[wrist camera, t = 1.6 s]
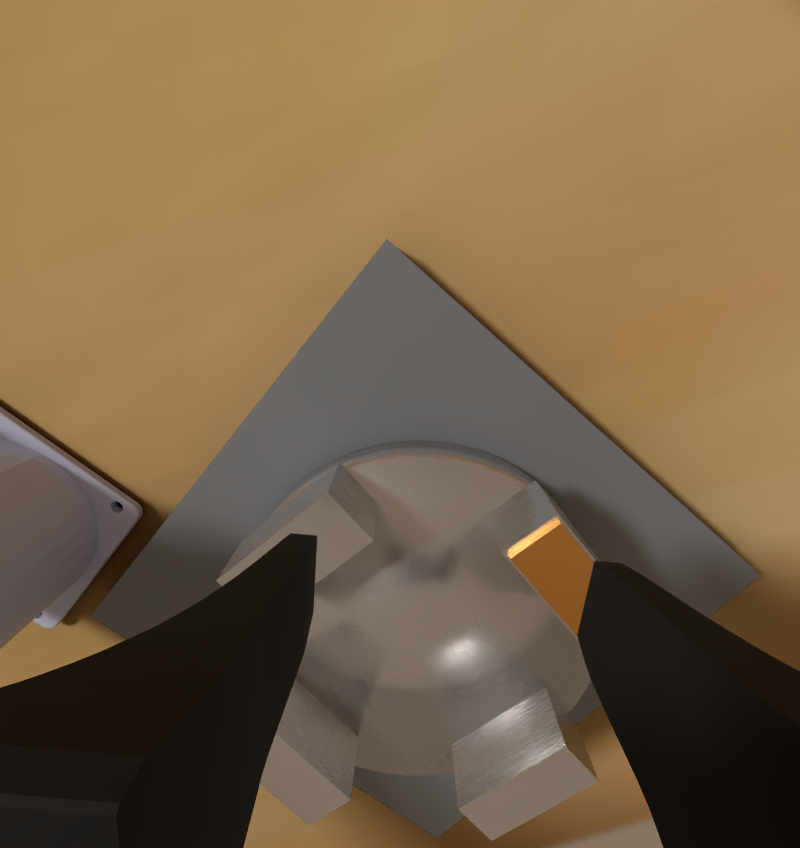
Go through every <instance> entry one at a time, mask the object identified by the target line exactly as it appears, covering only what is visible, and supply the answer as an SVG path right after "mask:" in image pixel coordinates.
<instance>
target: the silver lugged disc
mask: <svg viewBox="0 0 800 848" xmlns="http://www.w3.org/2000/svg"><path fill="white" fill-rule="evenodd" d="M290 533H295V534H306V535H317V552H316V572H315V592H314V612H313V617H312V621H311V626H310V630H309V635H308V639H307V643H306V647H305V652H304V655H303V658H302V661H301V664H300V667H299V670H298V672H297V675H296V678H295V681H294V684H293V687H292V689H291V692H290V695H289V698H288V701H287V703H286V706H285V709H284V712H283V715H282V717H281V720H280V723H279V726H278V729H277V731H276V734H275V737H274V740H273V743H272V746H271V748H270V751H269V754H268V757H267V761H266V764H265V767H264V770H263V773H262V777H261V781H260V784H261V785H262V786H263V787H264V788H265V789H267V790H268V791H269V792H270V793H271V794H273V795H274V796H275V797H276V798H277V799H278V800H280V801H281V802H282V803H283V804H284V805H286V806H287V807H288V808H289V809H290V810H291V811H293V812H294V813H295V814H296V815H297V816H299V817H300V818H301V819H302V820H303V821H304V822H306V823H307V824H308V825H309V826H310V825H311V824H313V823H315V822H316V821H318V820H320V819H321V818H323V817H324V816H326V815H328V814H329V813H331V812H332V811H334V810H336V809H337V808H339V807H341V806H342V805H344V804H345V803H347V802H349V801H350V800H351V795H352V785H353V776H354V767H355V766H358V767H361V768H364V769H368V770H373V771H378V772H383V773H390V774H400V775H439V774H450V773H455V783H456V793H457V804H458V810H459V811H461V812H462V813H463V814H464V815H465V816H466V817H467V818H468V819H469V820H470V821H471V822H472V823H473V824H474V825H475V826H476V827H477V828H479V829H480V830H481V831H482V832H483V833H484V834H485V835H486V836H487V837H488V838H489V839H490V840H491V841H493V840H495V839H496V838H498V837H500V836H502V835H504V834H505V833H507V832H509V831H511V830H512V829H514V828H516V827H518V826H520V825H521V824H523V823H525V822H527V821H529V820H530V819H532V818H534V817H536V816H538V815H539V814H541V813H543V812H545V811H547V810H548V809H550V808H552V807H554V806H556V805H557V804H559V803H561V802H563V801H565V800H566V799H568V798H570V797H572V796H574V795H575V794H577V793H579V792H581V791H583V790H584V789H586V788H588V787H590V786H592V785H593V784H595V783H597V782H599V780H598V778H597V775H596V773H595V770H594V767H593V765H592V762H591V760H590V757H589V754H588V752H587V749H586V747H585V744H584V742H583V739H582V736H581V734H580V731H579V729H578V726H577V723H576V721H575V719H574V717H573V716H572V715H571V714H570V713H569V712H570V711H571V709H572V708H573V707H574V706H575V705H576V703H577V702H578V701H579V700H580V698H581V697H582V695H583V693H584V692H585V690H586V689H587V687H588V685H589V684H590V682H591V679H590V676H589V673H588V670H587V667H586V664H585V661H584V657H583V654H582V651H581V647H580V644H579V640H578V637H577V634H578V629H579V625H580V621H581V616H582V612H583V608H584V604H585V599H586V595H587V591H588V586H589V582H590V578H591V573H592V569H593V565H594V561H601V560H600V559H599V558H598V556H597V555H596V554H595V553H594V552H593V550H592V549H591V548H590V547H589V545H588V544H587V543H586V542H585V540H584V539H583V538H582V537H581V535H580V534H579V533H578V532H577V530H576V529H575V527H574V526H573V525H572V523H571V522H570V520H569V519H568V517H567V516H566V514H565V513H564V512H563V511H562V509H561V508H560V507H559V505H558V504H557V503H556V501H555V500H554V499H553V498H552V496H551V495H549V494H548V493H547V492H546V491H545V490H544V489H543V488H542V487H541V486H540V485H539V484H538V482H537V481H536V480H533V479H532V478H531V477H529V476H528V475H526V474H525V473H524V472H522V471H521V470H520V469H518V468H517V467H515V466H513V465H511V464H509V463H507V462H505V461H504V460H502V459H500V458H498V457H496V456H493V455H490V454H488V453H485V452H483V451H480V450H477V449H475V448H470V447H466V446H462V445H458V444H454V443H448V442H439V441H430V440H406V441H396V442H389V443H382V444H377V445H373V446H369V447H366V448H362V449H358V450H355V451H353V452H350V453H348V454H345V455H343V456H340V457H338V458H336V459H334V460H332V461H330V462H328V463H327V464H325V465H323V466H321V467H320V468H318V469H316V470H314V471H313V472H312V473H310V474H309V475H308V476H307V477H305V478H304V479H303V480H301V481H300V482H299V483H297V484H296V485H295V486H294V487H293V488H292V489H291V490H290V491H289V492H288V493H287V494H286V495H285V497H284V498H283V499H282V500H281V501H280V502H279V504H278V505H277V506H276V508H275V509H274V510H273V512H272V513H271V515H270V516H269V517H268V519H267V521H265V522H264V523H263V524H262V525H260V526H259V527H258V528H257V529H255V530H254V531H253V532H252V533H250V534H249V535H248V536H247V537H245V538H244V539H243V540H242V542H241V543H240V545H239V546H238V548H237V549H236V551H235V552H234V554H233V555H232V557H231V559H230V560H229V562H228V563H227V565H226V566H225V568H224V569H223V571H222V572H221V574H220V575H219V577H218V578H217V580H216V581H217V582H218V583H219V584H220V585H221V586H223V585H224V584H226V583H227V582H229V581H230V580H232V579H233V578H235V577H236V576H237V575H239V574H240V573H241V572H243V571H244V570H245V569H246V568H248V567H249V566H250V565H252V564H253V563H254V562H256V561H257V560H258V559H259V558H261V557H262V556H263V555H264V554H265V553H267V552H268V551H269V550H270V549H272V548H273V547H274V546H275V545H276V544H278V543H279V542H280V541H281V540H283V539H284V538H285V537H287V536H288V535H289V534H290Z"/></svg>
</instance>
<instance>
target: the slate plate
mask: <svg viewBox="0 0 800 848" xmlns="http://www.w3.org/2000/svg"><path fill="white" fill-rule="evenodd" d="M406 440H430V441H439V442H448V443H454V444H458V445H462V446H466V447H470V448H475V449H477V450H480V451H483V452H485V453H488V454H490V455H493V456H496V457H498V458H500V459H502V460H504V461H505V462H507V463H509V464H511V465H513V466H515V467H517V468H518V469H520V470H521V471H522V472H524V473H525V474H526V475H528V476H529V477H531V478H532V479H533V480H536V481H537V482H538V484H539V485H540V486H541V487H542V488H543V489H544V490H545V491H546V492H547V493H548V494H549V495H551V496H552V498H553V499H554V500H555V501H556V503H557V504H558V505H559V507H560V508H561V509H562V511H563V512H564V513H565V514H566V516H567V517H568V519H569V520H570V522H571V523H572V525H573V526H574V527H575V529H576V530H577V532H578V533H579V534H580V535H581V537H582V538H583V539H584V540H585V542H586V543H587V544H588V545H589V547H590V548H591V549H592V550H593V552H594V553H595V554H596V555H597V556H598V558H599V559H600V560H601V561H603V562H614V563H622V564H624V565H626V566H627V567H629V568H631V569H633V570H635V571H636V572H638V573H640V574H641V575H643V576H644V577H646V578H648V579H649V580H651V581H652V582H654V583H655V584H657V585H658V586H660V587H661V588H663V589H665V590H666V591H668V592H669V593H671V594H672V595H674V596H675V597H677V598H678V599H680V600H681V601H683V602H684V603H686V604H687V605H689V606H690V607H692V608H693V609H695V610H697V611H698V612H700V613H701V614H703V615H704V616H706V617H707V618H708V617H710V616H711V615H712V614H713V613H715V612H716V611H717V610H718V609H719V608H721V607H722V606H723V605H724V604H726V603H727V602H728V601H729V600H730V599H732V598H733V597H734V596H735V595H737V594H738V593H739V592H740V591H742V590H743V589H744V588H745V587H746V586H748V585H749V584H750V583H751V582H753V581H754V580H755V579H756V578H757V577H759V576H760V574H759V573H758V572H757V571H756V570H755V569H754V568H752V567H751V566H750V565H749V564H748V563H747V562H746V561H745V560H744V559H742V558H741V557H740V556H739V555H738V554H737V553H736V552H735V551H734V550H732V549H731V548H730V547H729V546H728V545H727V544H726V543H725V542H724V541H722V540H721V539H720V538H719V537H718V536H717V535H716V534H715V533H714V532H712V531H711V530H710V529H709V528H708V527H707V526H706V525H705V524H704V523H702V522H701V521H700V520H699V519H698V518H697V517H696V516H695V515H693V514H692V513H691V512H690V511H689V510H688V509H687V508H686V507H685V506H683V505H682V504H681V503H680V502H679V501H678V500H677V499H676V498H675V497H673V496H672V495H671V494H670V493H669V492H668V491H667V490H666V489H665V488H663V487H662V486H661V485H660V484H659V483H658V482H657V481H656V480H655V479H653V478H652V477H651V476H650V475H649V474H648V473H647V472H646V471H645V470H643V469H642V468H641V467H640V466H639V465H638V464H637V463H636V462H634V461H633V460H632V459H631V458H630V457H629V456H628V455H627V454H626V453H624V452H623V451H622V450H621V449H620V448H619V447H618V446H617V445H616V444H614V443H613V442H612V441H611V440H610V439H609V438H608V437H607V436H606V435H604V434H603V433H602V432H601V431H600V430H599V429H598V428H597V427H596V426H594V425H593V424H592V423H591V422H590V421H589V420H588V419H587V418H586V417H584V416H583V415H582V414H581V413H580V412H579V411H578V410H577V409H575V408H574V407H573V406H572V405H571V404H570V403H569V402H568V401H567V400H565V399H564V398H563V397H562V396H561V395H560V394H559V393H558V392H557V391H555V390H554V389H553V388H552V387H551V386H550V385H549V384H548V383H547V382H545V381H544V380H543V379H542V378H541V377H540V376H539V375H538V374H537V373H535V372H534V371H533V370H532V369H531V368H530V367H529V366H528V365H526V364H525V363H524V362H523V361H522V360H521V359H520V358H519V357H518V356H516V355H515V354H514V353H513V352H512V351H511V350H510V349H509V348H508V347H506V346H505V345H504V344H503V343H502V342H501V341H500V340H499V339H498V338H496V337H495V336H494V335H493V334H492V333H491V332H490V331H489V330H488V329H486V328H485V327H484V326H483V325H482V324H481V323H480V322H479V321H478V320H476V319H475V318H474V317H473V316H472V315H471V314H470V313H469V312H467V311H466V310H465V309H464V308H463V307H462V306H461V305H460V304H459V303H457V302H456V301H455V300H454V299H453V298H452V297H451V296H450V295H449V294H447V293H446V292H445V291H444V290H443V289H442V288H441V287H440V286H439V285H437V284H436V283H435V282H434V281H433V280H432V279H431V278H430V277H429V276H427V275H426V274H425V273H424V272H423V271H422V270H421V269H420V268H419V267H417V266H416V265H415V264H414V263H413V262H412V261H411V260H410V259H408V258H407V257H406V256H405V255H404V254H403V253H402V252H401V251H400V250H398V249H397V248H396V247H395V246H394V245H393V244H392V243H391V242H390V241H388V240H387V239H386V241H385V242H384V243H383V244H382V246H381V247H380V248H379V249H378V251H377V252H376V253H375V255H374V256H373V257H372V258H371V260H370V261H369V262H368V263H367V265H366V266H365V267H364V269H363V270H362V271H361V272H360V274H359V275H358V276H357V277H356V279H355V280H354V281H353V283H352V284H351V285H350V286H349V288H348V289H347V290H346V291H345V293H344V294H343V295H342V297H341V298H340V299H339V300H338V302H337V303H336V304H335V305H334V307H333V308H332V309H331V311H330V312H329V313H328V314H327V316H326V317H325V318H324V319H323V321H322V322H321V323H320V325H319V326H318V327H317V328H316V330H315V331H314V332H313V333H312V335H311V336H310V337H309V339H308V340H307V341H306V342H305V344H304V345H303V346H302V347H301V349H300V350H299V351H298V353H297V354H296V355H295V356H294V358H293V359H292V360H291V361H290V363H289V364H288V365H287V367H286V368H285V369H284V370H283V372H282V373H281V374H280V375H279V377H278V378H277V379H276V381H275V382H274V383H273V384H272V386H271V387H270V388H269V389H268V391H267V392H266V393H265V395H264V396H263V397H262V398H261V400H260V401H259V402H258V403H257V405H256V406H255V407H254V409H253V410H252V411H251V412H250V414H249V415H248V416H247V417H246V419H245V420H244V421H243V423H242V424H241V425H240V426H239V428H238V429H237V430H236V431H235V433H234V434H233V435H232V437H231V438H230V439H229V440H228V442H227V443H226V444H225V445H224V447H223V448H222V449H221V451H220V452H219V453H218V454H217V456H216V457H215V458H214V459H213V461H212V462H211V463H210V465H209V466H208V467H207V468H206V470H205V471H204V472H203V473H202V475H201V476H200V477H199V479H198V480H197V481H196V482H195V484H194V485H193V486H192V487H191V489H190V490H189V491H188V493H187V494H186V495H185V496H184V498H183V499H182V500H181V501H180V503H179V504H178V505H177V507H176V508H175V509H174V510H173V512H172V513H171V514H170V515H169V517H168V518H167V519H166V521H165V522H164V523H163V524H162V526H161V527H160V528H159V529H158V531H157V532H156V533H155V535H154V536H153V537H152V538H151V540H150V541H149V542H148V543H147V545H146V546H145V547H144V549H143V550H142V551H141V552H140V554H139V555H138V556H137V557H136V559H135V560H134V561H133V563H132V564H131V565H130V566H129V568H128V569H127V570H126V571H125V573H124V574H123V575H122V577H121V578H120V579H119V580H118V582H117V583H116V584H115V585H114V587H113V588H112V589H111V591H110V592H109V593H108V594H107V596H106V597H105V598H104V599H103V601H102V602H101V603H100V605H99V606H98V607H97V608H96V610H95V611H94V612H93V613H92V615H91V617H93V618H94V619H96V620H97V621H99V622H101V623H102V624H104V625H105V626H107V627H108V628H110V629H111V630H113V631H115V632H116V633H118V634H119V635H121V636H122V637H124V638H125V639H129V638H131V637H134V636H136V635H138V634H140V633H142V632H144V631H146V630H149V629H151V628H153V627H155V626H157V625H159V624H161V623H162V622H164V621H166V620H168V619H170V618H171V617H173V616H175V615H177V614H179V613H180V612H182V611H184V610H186V609H188V608H189V607H191V606H193V605H194V604H196V603H198V602H199V601H201V600H202V599H204V598H205V597H207V596H208V595H210V594H211V593H213V592H214V591H216V590H217V589H219V588H220V587H222V586H221V585H220V584H219V583H218V582H217V581H216V580H217V578H218V577H219V575H220V574H221V572H222V571H223V569H224V568H225V566H226V565H227V563H228V562H229V560H230V559H231V557H232V555H233V554H234V552H235V551H236V549H237V548H238V546H239V545H240V543H241V542H242V540H243V539H244V538H245V537H247V536H248V535H249V534H250V533H252V532H253V531H254V530H255V529H257V528H258V527H259V526H260V525H262V524H263V523H264V522H265V521H267V519H268V517H269V516H270V515H271V513H272V512H273V510H274V509H275V508H276V506H277V505H278V504H279V502H280V501H281V500H282V499H283V498H284V497H285V495H286V494H287V493H288V492H289V491H290V490H291V489H292V488H293V487H294V486H295V485H296V484H297V483H299V482H300V481H301V480H303V479H304V478H305V477H307V476H308V475H309V474H310V473H312V472H313V471H314V470H316V469H318V468H320V467H321V466H323V465H325V464H327V463H328V462H330V461H332V460H334V459H336V458H338V457H340V456H343V455H345V454H348V453H350V452H353V451H355V450H358V449H362V448H366V447H369V446H373V445H377V444H382V443H389V442H396V441H406ZM600 705H602V703H601V701H600V699H599V697H598V694H597V692H596V690H595V688H594V685H593V683H592V681H591V682H590V684H589V685H588V687H587V689H586V690H585V692H584V693H583V695H582V697H581V698H580V700H579V701H578V702H577V703H576V705H575V706H574V707H573V708H572V709H571V711H570V712H569V713H570V714H571V715H572V716H573V717H574V719H575V721H576V723H577V724H578V723H580V722H581V721H582V720H583V719H584V718H586V717H587V716H588V715H589V714H591V713H592V712H593V711H594V710H596V709H597V708H598V707H599V706H600ZM353 785H355V786H356V787H358V788H359V789H361V790H362V791H364V792H366V793H367V794H369V795H370V796H372V797H373V798H375V799H376V800H378V801H380V802H381V803H383V804H384V805H386V806H387V807H389V808H391V809H392V810H394V811H395V812H397V813H398V814H400V815H401V816H403V817H405V818H406V819H408V820H409V821H411V822H412V823H414V824H415V825H417V826H419V827H420V828H422V829H423V830H425V831H426V832H428V833H429V834H431V835H433V836H434V837H436V838H438V837H440V836H441V835H442V834H443V833H445V832H446V831H447V830H448V829H449V828H451V827H452V826H453V825H454V824H456V823H457V822H458V821H459V820H461V819H462V818H463V817H464V816H465V815H464V814H463V813H462V812H461V811H459V810H458V804H457V793H456V783H455V773H450V774H439V775H400V774H390V773H383V772H378V771H373V770H368V769H364V768H361V767H358V766H355V767H354V776H353Z"/></svg>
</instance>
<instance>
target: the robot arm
mask: <svg viewBox="0 0 800 848" xmlns="http://www.w3.org/2000/svg"><path fill="white" fill-rule="evenodd" d="M116 501H117V502H119V503H121V505H122V506H123V509H121V508H119V507H118V506H117V505H116ZM142 514H143V510H142V507H141V506H140V505H139V504H138V503H137V502H136V501H135V500H133V499H132V498H130V497H129V496H127V495H126V494H125V493H123V492H122V491H120V490H119V489H117V488H116V487H115V486H113V485H112V484H110V483H109V482H107V481H106V480H105V479H103V478H102V477H100V476H99V475H97V474H96V473H95V472H93V471H92V470H90V469H89V468H87V467H86V466H85V465H83V464H82V463H80V462H79V461H77V460H76V459H75V458H73V457H72V456H70V455H69V454H67V453H66V452H65V451H63V450H62V449H60V448H59V447H57V446H56V445H55V444H53V443H52V442H50V441H49V440H47V439H46V438H45V437H43V436H42V435H40V434H39V433H37V432H36V431H35V430H33V429H32V428H30V427H29V426H27V425H26V424H25V423H23V422H22V421H20V420H19V419H17V418H16V417H15V416H13V415H12V414H10V413H9V412H7V411H6V410H5V409H3V408H2V407H0V649H1V648H2V647H3V646H4V645H5V644H6V643H8V642H9V641H10V640H11V639H12V638H13V637H14V636H15V635H17V634H18V633H19V632H20V631H21V630H22V629H23V628H24V627H26V626H27V625H28V624H29V623H30V622H31V621H32V620H33V621H35V622H36V623H38V624H39V625H41V626H43V627H45V628H54V627H56V626H57V625H58V624H59V623H60V622H61V621H62V620H63V618H64V617H65V616H66V615H67V613H68V612H69V611H70V609H71V608H72V607H73V605H74V604H75V603H76V602H77V600H78V599H79V598H80V596H81V595H82V594H83V592H84V591H85V590H86V589H87V587H88V586H89V585H90V583H91V582H92V581H93V579H94V578H95V577H96V576H97V574H98V573H99V572H100V570H101V569H102V568H103V566H104V565H105V564H106V563H107V561H108V560H109V559H110V557H111V556H112V555H113V553H114V552H115V551H116V549H117V548H118V547H119V546H120V544H121V543H122V542H123V540H124V539H125V538H126V536H127V535H128V534H129V533H130V531H131V530H132V529H133V527H134V526H135V525H136V523H137V522H138V521H139V520H140V518H141V517H142ZM316 552H317V535H306V534H295V533H290V534H289V535H288V536H287V537H285V538H284V539H283V540H281V541H280V542H279V543H278V544H276V545H275V546H274V547H273V548H272V549H270V550H269V551H268V552H267V553H265V554H264V555H263V556H262V557H261V558H259V559H258V560H257V561H256V562H254V563H253V564H252V565H250V566H249V567H248V568H246V569H245V570H244V571H243V572H241V573H240V574H239V575H237V576H236V577H235V578H233V579H232V580H230V581H229V582H227V583H226V584H224V585H223V586H222V587H220V588H219V589H217V590H216V591H214V592H213V593H211V594H210V595H208V596H207V597H205V598H204V599H202V600H201V601H199V602H198V603H196V604H194V605H193V606H191V607H189V608H188V609H186V610H184V611H182V612H180V613H179V614H177V615H175V616H173V617H171V618H170V619H168V620H166V621H164V622H162V623H161V624H159V625H157V626H155V627H153V628H151V629H149V630H146V631H144V632H142V633H140V634H138V635H136V636H134V637H131V638H129V639H127V640H125V641H123V642H121V643H119V644H116V645H114V646H112V647H110V648H108V649H106V650H103V651H101V652H99V653H96V654H94V655H91V656H89V657H86V658H84V659H81V660H79V661H76V662H74V663H71V664H68V665H66V666H63V667H60V668H58V669H55V670H52V671H49V672H47V673H44V674H41V675H38V676H36V677H33V678H30V679H27V680H24V681H21V682H18V683H14V684H11V685H8V686H5V687H1V688H0V848H243V847H244V843H245V839H246V835H247V831H248V827H249V823H250V819H251V815H252V812H253V808H254V804H255V800H256V796H257V792H258V788H259V784H260V781H261V777H262V773H263V770H264V767H265V764H266V761H267V757H268V754H269V751H270V748H271V746H272V743H273V740H274V737H275V734H276V731H277V729H278V726H279V723H280V720H281V717H282V715H283V712H284V709H285V706H286V703H287V701H288V698H289V695H290V692H291V689H292V687H293V684H294V681H295V678H296V675H297V672H298V670H299V667H300V664H301V661H302V658H303V655H304V652H305V647H306V643H307V639H308V635H309V630H310V626H311V621H312V617H313V612H314V592H315V572H316ZM577 637H578V640H579V644H580V647H581V651H582V654H583V657H584V661H585V664H586V667H587V670H588V673H589V676H590V679H591V681H592V683H593V685H594V688H595V690H596V692H597V694H598V697H599V699H600V701H601V703H602V705H603V708H604V710H605V712H606V714H607V716H608V718H609V721H610V723H611V725H612V727H613V729H614V731H615V733H616V736H617V738H618V740H619V742H620V744H621V746H622V748H623V751H624V753H625V755H626V757H627V759H628V761H629V763H630V766H631V768H632V770H633V772H634V774H635V776H636V778H637V781H638V783H639V785H640V787H641V790H642V792H643V794H644V797H645V799H646V802H647V804H648V806H649V809H650V811H651V814H652V817H653V820H654V822H655V825H656V828H657V830H658V833H659V836H660V839H661V842H662V844H663V847H664V848H800V671H798V670H796V669H794V668H792V667H790V666H788V665H787V664H785V663H783V662H781V661H779V660H777V659H776V658H774V657H772V656H770V655H768V654H767V653H765V652H763V651H761V650H760V649H758V648H756V647H755V646H753V645H751V644H750V643H748V642H746V641H745V640H743V639H741V638H740V637H738V636H736V635H735V634H733V633H731V632H730V631H728V630H726V629H725V628H723V627H722V626H720V625H718V624H717V623H715V622H714V621H712V620H711V619H709V618H707V617H706V616H704V615H703V614H701V613H700V612H698V611H697V610H695V609H693V608H692V607H690V606H689V605H687V604H686V603H684V602H683V601H681V600H680V599H678V598H677V597H675V596H674V595H672V594H671V593H669V592H668V591H666V590H665V589H663V588H661V587H660V586H658V585H657V584H655V583H654V582H652V581H651V580H649V579H648V578H646V577H644V576H643V575H641V574H640V573H638V572H636V571H635V570H633V569H631V568H629V567H627V566H626V565H624V564H622V563H614V562H603V561H594V565H593V569H592V573H591V578H590V582H589V586H588V591H587V595H586V599H585V604H584V608H583V612H582V616H581V621H580V625H579V629H578V634H577Z"/></svg>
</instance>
